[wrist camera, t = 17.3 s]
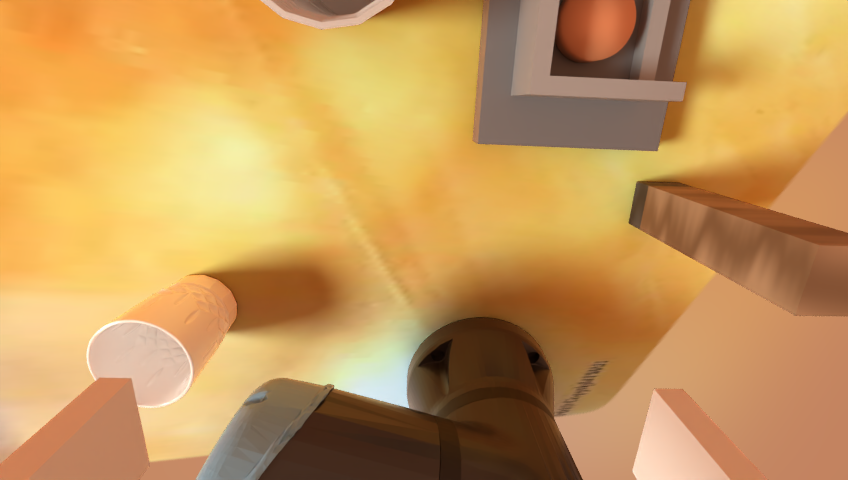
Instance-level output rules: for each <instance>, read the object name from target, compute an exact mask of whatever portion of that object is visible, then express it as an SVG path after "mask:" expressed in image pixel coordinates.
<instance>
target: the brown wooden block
mask: <svg viewBox="0 0 848 480" xmlns="http://www.w3.org/2000/svg"><path fill="white" fill-rule="evenodd" d="M629 224H631V225H633V226H634V227H636V228H638V229H640V230H642V231H643V232H645V233H647V234H649V235H651V236H652V237H654V238H656V239H658V240H660V241H661V242H663V243H665V244H667V245H669V246H670V247H672V248H674V249H676V250H678V251H679V252H681V253H683V254H685V255H687V256H688V257H690V258H692V259H694V260H696V261H698V262H699V263H701V264H703V265H705V266H707V267H708V268H710V269H712V270H714V271H716V272H717V273H719V274H721V275H723V276H725V277H726V278H728V279H730V280H732V281H734V282H735V283H737V284H739V285H741V286H743V287H745V288H746V289H748V290H750V291H752V292H753V293H755V294H757V295H759V296H761V297H763V298H764V299H766V300H768V301H770V302H771V303H773V304H775V305H777V306H779V307H780V308H782V309H784V310H786V311H788V312H789V313H791V314H793V315H795V316H848V233H846V232H843V231H839V230H836V229H833V228H829V227H826V226H823V225H819V224H816V223H813V222H809V221H806V220H803V219H799V218H795V217H792V216H789V215H786V214H782V213H779V212H776V211H772V210H769V209H766V208H762V207H759V206H756V205H752V204H749V203H745V202H742V201H739V200H735V199H732V198H729V197H725V196H722V195H719V194H715V193H712V192H709V191H705V190H702V189H698V188H695V187H692V186H688V185H685V184H682V183H669V182H637V183H636V188H635V194H634V199H633V204H632V209H631V214H630V219H629Z"/></svg>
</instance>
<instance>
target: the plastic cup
mask: <svg viewBox="0 0 848 480" xmlns="http://www.w3.org/2000/svg"><path fill="white" fill-rule="evenodd" d="M261 1H262V2H263V3H265V4H266V5H267V6H268V7H270V8H271V9H272V10H273V11H275V12H276V13H277V14H279V15H280V16H281V17H282V18H285V19H288V20H292V21H295V22H298V23H302V24H305V25H308V26H312V27H315V28H318V29H329V28H337V27H345V26H352V25H360V24H361V23H363V22H364V21H366V20H367V19H369V18H371V17H372V16H374V15H375V14H377V13H378V12H380V11H382V10H383V9H385V8H386V7H388V6H389V5H391V4H392V3H393V2H394V0H261Z"/></svg>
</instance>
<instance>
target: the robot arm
mask: <svg viewBox="0 0 848 480" xmlns="http://www.w3.org/2000/svg"><path fill="white" fill-rule="evenodd" d="M407 399H408V404H409V408H406V407H402V406H398V405H394V404H391V403H387V402H383V401H379V400H375V399H372V398H368V397H364V396H360V395H356V394H353V393H349V392H345V391H341V390H338V389H334V385H331V384H327V385H325V386H322V385H317V384H312V383H308V382H303V381H298V380H293V379H288V378H277V379H273V380H270V381H268V382H266V383H264V384H262V385H261V386H260V387H258V388H257V389H256V390H255V391H254V392H253V393H252V394H251V395H250V396H249V397H248V398H247V399H246V401H245V402H244V403H243V405H242V406H241V407H240V409H239V410H238V411H237V413H236V414H235V415H234V417H233V418H232V420H231V421H230V423H229V424H228V426H227V427H226V429H225V430H224V432H223V434H222V435H221V437H220V438H219V440H218V442H217V443H216V445H215V447H214V448H213V450H212V452H211V453H210V455H209V457H208V458H207V460H206V462H205V464H204V465H203V467H202V469H201V471H200V472H199V474H198V476H197V478H196V480H583V479H582V477H581V475H580V473H579V471H578V469H577V467H576V465H575V463H574V460H573V458H572V456H571V454H570V452H569V450H568V448H567V446H566V444H565V441H564V439H563V437H562V435H561V433H560V431H559V429H558V426H557V424H556V422H555V420H554V383H553V376H552V372H551V369H550V366H549V363H548V361H547V359H546V357H545V355H544V353H543V351H542V350H541V348H540V346H539V345H538V343H537V342H536V341H535V340H534V339H533V338H532V336H530V335H529V334H528V333H527V332H526V331H524V330H523V329H521V328H520V327H518V326H516V325H514V324H511V323H509V322H506V321H503V320H499V319H493V318H470V319H464V320H460V321H456V322H454V323H451V324H448V325H446V326H444V327H442V328H440V329H439V330H437V331H436V332H434V333H433V334H431V335H430V336H429V337H428V338H427V339H426V340H425V341H424V342H423V343H422V344H421V345H420V346H419V348H418V349H417V351H416V352H415V354H414V356H413V358H412V360H411V362H410V365H409V369H408V375H407ZM149 466H150V463H149V458H148V453H147V449H146V444H145V439H144V435H143V430H142V425H141V421H140V416H139V411H138V407H137V402H136V397H135V392H134V388H133V383H132V378H98V379H97V380H96V381H95V382H94V383H93V384H91V385H90V386H89V387H88V388H87V389H86V390H85V391H83V392H82V393H81V394H80V395H79V396H78V397H77V398H75V399H74V400H73V401H72V402H71V403H70V404H69V405H67V406H66V407H65V408H64V409H63V410H62V411H61V412H59V413H58V414H57V415H56V416H55V417H54V418H53V419H51V420H50V421H49V422H48V423H47V424H46V425H45V426H43V427H42V428H41V429H40V430H39V431H38V432H37V433H35V434H34V435H33V436H32V437H31V438H30V439H29V440H27V441H26V442H25V443H24V444H23V445H22V446H20V447H19V448H18V449H17V450H16V451H15V452H14V453H12V454H11V455H10V456H9V457H8V458H7V459H6V460H4V461H3V462H2V463H1V464H0V480H140V478H141V477H142V476H143V474H144V473H145V472H146V470H147V469H148V467H149ZM632 472H633V473H634V475H635V477H636V478H637V480H768V479H767V478H766V477H765V476H764V475H763V474H762V473H761V472H760V471H759V470H758V468H757V467H756V466H755V465H754V464H753V463H752V462H751V461H750V460H749V459H748V458H747V457H746V456H745V455H744V454H743V452H742V451H741V450H740V449H739V448H738V447H737V446H736V445H735V444H734V443H733V442H732V441H731V440H730V439H729V438H728V437H727V436H726V434H724V432H723V431H722V430H721V429H720V428H719V427H718V426H717V425H716V424H715V423H714V422H713V421H712V420H711V419H710V417H709V416H707V414H706V413H705V412H704V411H703V410H702V409H701V408H700V407H699V406H698V405H697V404H696V403H695V402H694V400H692V398H691V397H690V396H689V395H688V394H687V393H686V392H685V391H684V390H683V389H654V390H653V394H652V398H651V402H650V406H649V409H648V413H647V417H646V421H645V425H644V429H643V432H642V436H641V440H640V444H639V448H638V451H637V455H636V459H635V463H634V467H633V471H632Z"/></svg>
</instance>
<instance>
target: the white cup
mask: <svg viewBox="0 0 848 480" xmlns="http://www.w3.org/2000/svg"><path fill="white" fill-rule="evenodd" d="M236 317H237V303H236V301H235V299H234V296H233V294H232V292H231V290H230V289H228V288H227V287H226V286H225V285H224V284H223V283H221V282H220V281H219V280H217V279H214V278H211V277H208V276H205V275H189V276H186V277H184V278H182V279H180V280H179V281H177V282H175V283H173V284H172V285H170V286H169V287H167V288H163V289H162V290H160V291H159V292H157V293H155V294H153V295H152V296H150V297H148V298H147V299H145V300H144V301H142V302H141V303H139V304H138V305H136V306H134V307H133V308H131V309H130V310H128V311H127V312H125V313H124V314H122V315H121V316H119V317H117V318H116V319H114V320H113V321H111V322H110V323H108V324H106V325H105V326H103V327H102V328H100V329H99V330H98V331H97V332H96V333H95V334H94V335H93V337H92V338H91V340H90V342H89V344H88V348H87V363H88V367H89V370H90V372H91V374H92V376H93V378H94V379H95V381H96V380H97V379H98V378H132V383H133V388H134V392H135V397H136V402H137V407H144V408H156V407H163V406H167V405H170V404H172V403H174V402H176V401H178V400H179V399H181V398H182V397H183V396H184V395H185V394H186V393H187V392H188V390H189V389H190V387H191V386H192V384H193V383H194V381H195V380H196V379H197V377H198V376H199V374H200V373H201V371H202V370H203V369H204V367H205V366H206V364H207V363H208V361H209V360H210V359H211V357H212V356H213V354H214V353H215V351H216V350H217V349H218V347H219V345H220V343H221V342H222V341H223V339H224V337H225V334H226V333H227V331H228V330H229V328H230V327H231V325H232V324H233V322H234V320H235V319H236Z"/></svg>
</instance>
